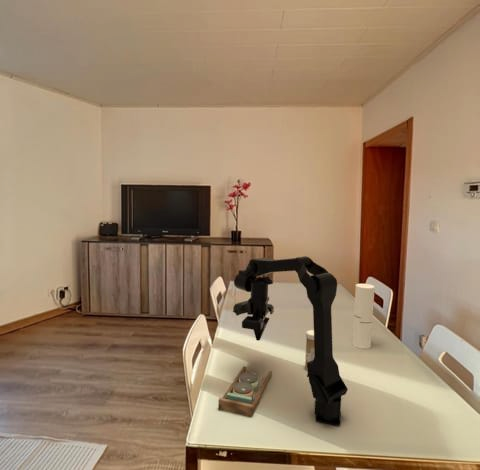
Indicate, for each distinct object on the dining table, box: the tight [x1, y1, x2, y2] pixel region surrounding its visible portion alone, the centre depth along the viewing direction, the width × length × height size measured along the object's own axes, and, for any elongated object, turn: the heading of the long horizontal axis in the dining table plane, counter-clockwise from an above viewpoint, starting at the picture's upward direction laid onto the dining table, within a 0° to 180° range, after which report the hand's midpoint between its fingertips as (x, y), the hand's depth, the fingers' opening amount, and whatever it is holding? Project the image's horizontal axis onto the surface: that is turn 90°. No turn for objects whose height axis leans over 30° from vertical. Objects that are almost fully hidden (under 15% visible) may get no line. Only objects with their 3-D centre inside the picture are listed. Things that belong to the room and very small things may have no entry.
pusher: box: [227, 393, 253, 404], centre depth 102 cm, size 7×1×3 cm, turn 72°
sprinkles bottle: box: [304, 329, 315, 371], centre depth 124 cm, size 5×5×13 cm
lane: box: [218, 365, 273, 418], centre depth 110 cm, size 10×23×3 cm, turn 162°
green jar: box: [239, 371, 259, 394], centre depth 111 cm, size 6×6×4 cm
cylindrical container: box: [352, 283, 376, 350], centre depth 143 cm, size 7×7×25 cm
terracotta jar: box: [233, 382, 254, 402], centre depth 106 cm, size 6×6×4 cm
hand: (258, 340), depth 119 cm, fingers closed
